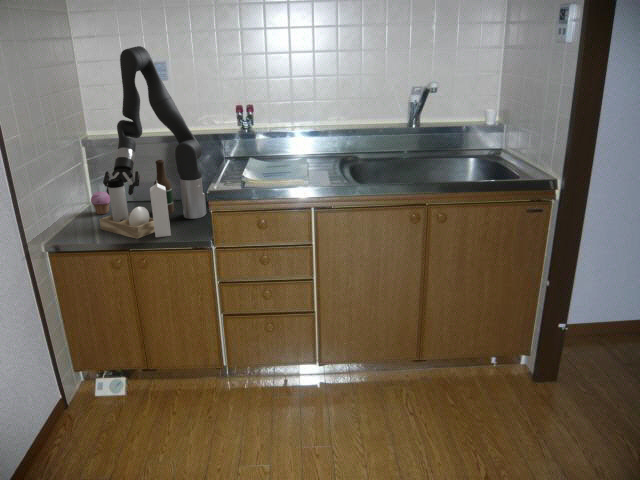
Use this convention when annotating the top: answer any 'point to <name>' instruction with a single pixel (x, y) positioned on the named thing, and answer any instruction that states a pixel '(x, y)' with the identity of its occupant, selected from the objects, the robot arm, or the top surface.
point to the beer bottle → (164, 184)
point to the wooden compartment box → (127, 227)
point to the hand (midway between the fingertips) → (119, 194)
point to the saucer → (138, 216)
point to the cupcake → (101, 202)
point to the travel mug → (118, 199)
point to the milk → (160, 210)
